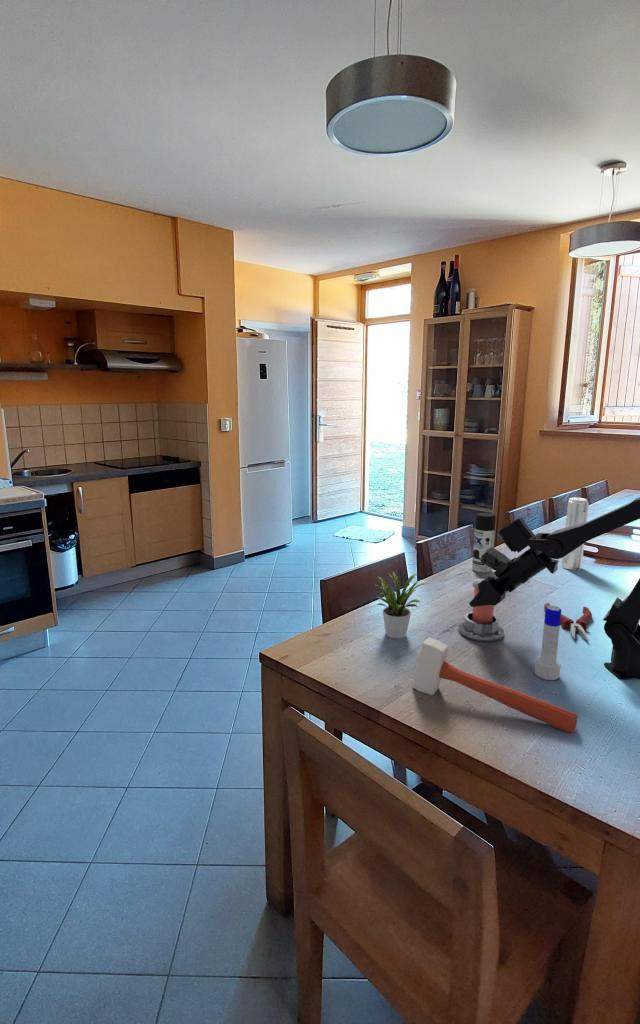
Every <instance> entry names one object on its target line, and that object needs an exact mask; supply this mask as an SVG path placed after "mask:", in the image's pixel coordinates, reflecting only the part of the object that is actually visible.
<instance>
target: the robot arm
mask: <svg viewBox="0 0 640 1024" xmlns="http://www.w3.org/2000/svg"><path fill="white" fill-rule="evenodd" d="M638 520H640V497H637V498H635V499H634V500H632V501H631V502H628V503H627V504H623V505H621V506H619V507H617V508H615V509H612V510H611V511H608V512H606V513H604V514H602V515H600V516H597V517H595V518H592V519H590V520H588V521H587V522H586V523H584V524H580V525H576V526H571V527H567V528H565V527H564V528H560V529H555V530H554V531H552V532H537V533H536V534H535V533H534V532H533V531H532V530H531V529H530V527H529V526H528V525H527V523H526V521H525V520H524V519H523V517H521V516H520V517H518V518H516V519H515V520H514V521H512V522H511V523H509V524H508V525H505V526H504V527H503V528H501V529H499V531H498V532H497V533H496V535H497V536H498V537H499V539H501V541H502V542H503V543H504V545H505V546H506V547H507V548H508V549H509V551H511V552H513V553H515V552H517V554H518V553H521V552H522V551H523V550H524V549H526V548H527V547H529V548H528V549H527V550H525V551H524V552H523V553H521V554H520V555H518V556H517V557H514V558H512V559H510V557H509V556H506V554H504V553H503V552H501V551H499V550H498V549H496V548H495V547H493V548H492V547H491V548H489V549H487V550H486V551H485V553H484V554H483V555H482V556H481V560H480V561H481V562H482V563H483V564H485V565H487V566H488V567H490V568H492V570H494V572H493V574H494V576H495V577H496V578H494V577H492V576H487V577H485V578H483V579H484V580H483V581H482V582H480V583H479V584H478V588H479V592H478V594H477V595H476V596H475V597H474V596H473V598H472V599H471V600H470V602H469V603H468V604H469V606H470V607H471V608H473V607H477V606H485V605H494V607H495V606H496V605H498V604H500V603H501V602H502V601H503V600H505V598H506V596H507V595H506V593H507V592H509V593H512V592H514V590H516V589H517V588H519V587H520V586H521V585H523V584H525V583H527V582H528V581H529V580H530V579H532V578H533V577H535V576H536V575H538V574H539V573H541V572H543V571H544V570H545V569H547V570H548V572H549V573H550V574H554V573H556V572H557V571H558V570H559V568H558V566H559V565H558V564H559V562H560V561H559V560H560V559H562V558H563V557H564V556H566V555H567V554H569V553H570V552H572V551H573V550H575V549H576V548H578V547H579V546H581V545H582V544H584V545H585V543H586V542H588V541H591V540H593V539H596V538H598V537H600V536H603V535H604V534H608V533H609V532H612V531H614V530H616V529H618V528H620V527H621V528H622V527H623V526H625V525H628V524H631V523H633V522H635V521H638ZM602 621H605V623H604V624H603V630H604V632H605V635H606V637H608V638H609V639H610V641H611V645H612V649H611V656H610V662H603V663H604V664H603V665H604V666H605V668H607V669H608V670H609V671H610V672H611V673H613V675H615V676H616V677H617V678H618V679H620V680H633V679H634V680H640V578H639V579H638V580H637V582H636V584H635V585H634V587H633V589H632V590H631V591H630V592H629V595H627V596H626V597H625V599H623V600H622V599H620V598H619V597H618V596H617V597H616V598H615V600H614V602H613V603H612V605H611V607H610V609H608V611H607V613H606V614H605V616H604V617H603V619H602Z"/></svg>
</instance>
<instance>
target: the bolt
mask: <svg viewBox="0 0 640 1024" xmlns="http://www.w3.org/2000/svg"><path fill="white" fill-rule="evenodd" d="M561 614H562V609H561V608H560V607H559V606H557V605H550V606H547V607H546V609H545V610H544V622H543V630H542V640H541V642H542V643H541V651H540V656H538V657H536V658H535V663H534V665H535V666H534V674H535V675H536V676H537V677H539V678H540V679H542V680H545V681H546V680H547V681H556V680H558V679H559V678H560V675H561V661H559V660H558V659H557V658H558V657H557V656H558V647H559V635H560V627H561V624H560V619H561Z"/></svg>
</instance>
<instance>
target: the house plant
mask: <svg viewBox="0 0 640 1024" xmlns="http://www.w3.org/2000/svg"><path fill="white" fill-rule="evenodd" d="M392 574H393V576H392ZM392 574H390V573H388V575H389V576H390V577H391V578H392V580H393V583H394V586H395V590H391V588H390V586H389V584H388V583H387V582H386V580H384V579H383V578H382V577H381V576H379V575H377V578H378V579H379V580H380V584H381V586H379V585H377V584H376V586H377V587H379V588H380V589H381V591H382V592H381V593H379V595H383V596H384V598H383V597H380V596H376V598H377V599H379V600H381V601H382V602H383V603H382V602H380V603H377V604H376V606H383V607H385V608H383V609H382V615H383V623H384V631H385V635H386V636H387V637H389V638H391V639H395V640H397V639H403V638H405V637H406V636H407V633H408V629H409V623H410V618H411V615H412V614H411V613H412V611H411V610H410V609H408V607H416V608H418V609H419V607H418V605H417V604H415V603H419V604H421V601H420V600H418V599H412V600H410V601H408V600H409V599H410V597H411V595H412V594H413V593H414V592H416V591H417V590H416V589H417V588H419V587H420V586H424V585H429V583H426V582H425V583H424V582H423V583H420V582H421V581H419V580H418V581H416V582H413V584H412V585H411V586H410V587H409V585H410V584H411V583H412V581H413V579H414V578H415V576H417V575H418V574H419V573H415V574H412V575H410V577H409V578H407V580H406V581H405V583H404V584H403V586H402V587H403V588H402V590H401V583H400V579H399V577H398V575H397V574H396V573H395V572H394V571H392ZM418 583H420V584H418ZM408 587H409V588H408ZM407 601H408V603H407ZM384 603H386V604H387V605H386V604H384Z"/></svg>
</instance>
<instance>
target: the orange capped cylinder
mask: <svg viewBox="0 0 640 1024" xmlns="http://www.w3.org/2000/svg"><path fill="white" fill-rule="evenodd" d="M484 579H485V578H477V579H473V581H472V587H473V588H474V590H473V591H474V592H473V598H474V597H475V596H476V595H477V594H478V592H479V588H478V584H479V583H480V582H482V581H483V580H484ZM494 607H495V606H494V605H485V606H477V607H472V611H473V615H472V621H474V622H477V623H482V624H486V623H492V622H493V614H494V610H495V608H494Z"/></svg>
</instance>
